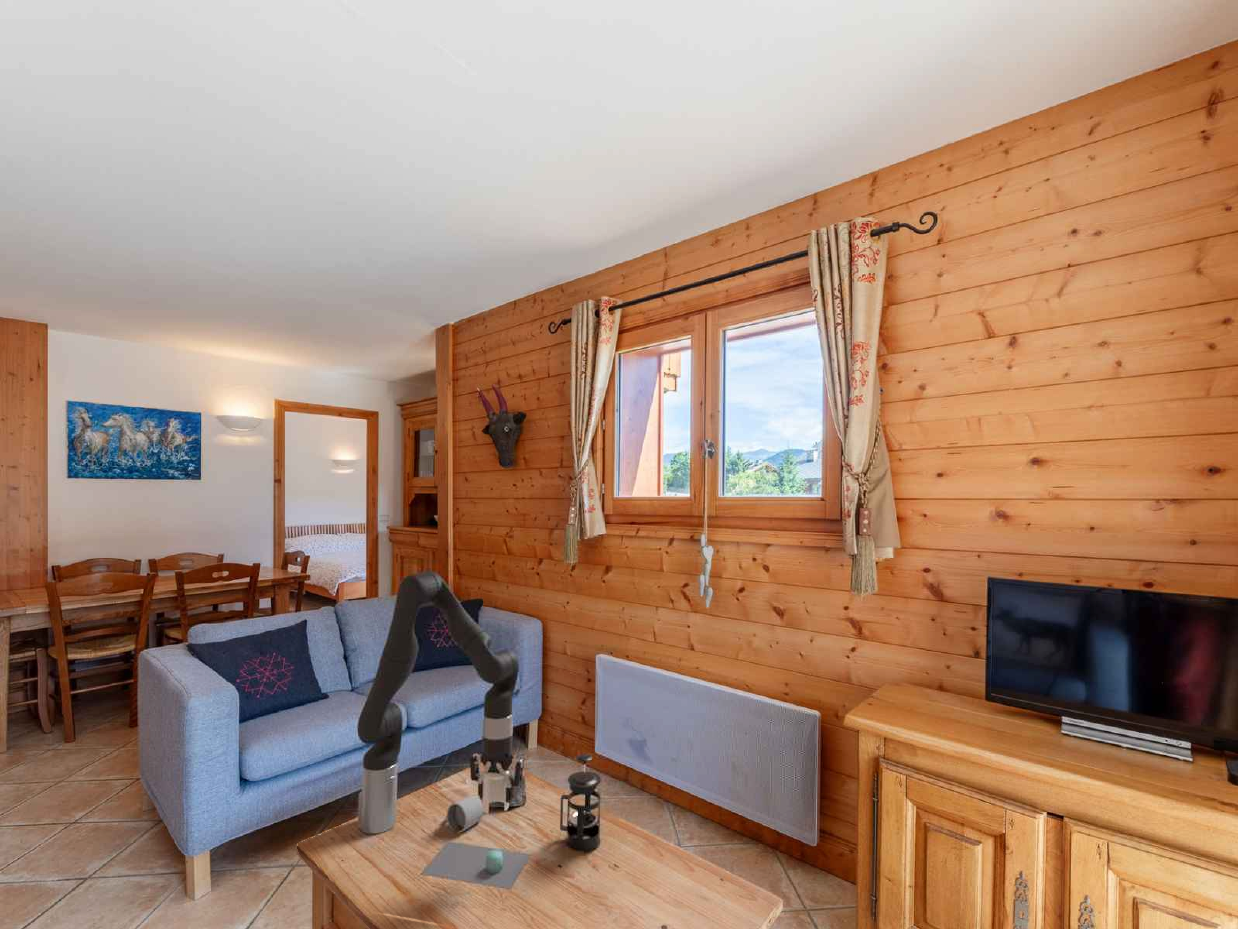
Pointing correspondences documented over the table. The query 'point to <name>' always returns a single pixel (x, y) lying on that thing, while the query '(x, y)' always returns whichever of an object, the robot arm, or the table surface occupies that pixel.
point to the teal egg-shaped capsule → (494, 862)
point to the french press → (582, 810)
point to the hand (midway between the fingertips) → (495, 799)
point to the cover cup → (494, 790)
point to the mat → (475, 865)
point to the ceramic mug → (465, 813)
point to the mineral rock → (518, 796)
